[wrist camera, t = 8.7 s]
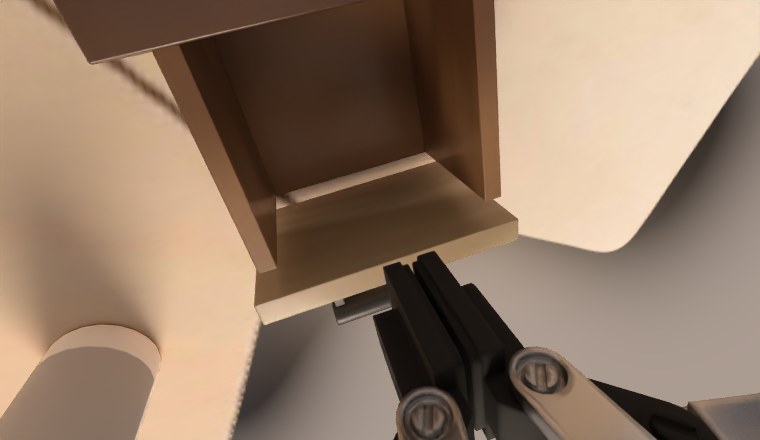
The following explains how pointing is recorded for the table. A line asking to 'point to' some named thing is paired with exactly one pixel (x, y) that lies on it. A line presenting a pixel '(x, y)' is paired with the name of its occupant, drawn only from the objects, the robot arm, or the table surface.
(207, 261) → the table surface
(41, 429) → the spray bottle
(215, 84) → the drawer
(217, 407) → the table surface
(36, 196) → the table surface
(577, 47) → the table surface
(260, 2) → the cabinet
